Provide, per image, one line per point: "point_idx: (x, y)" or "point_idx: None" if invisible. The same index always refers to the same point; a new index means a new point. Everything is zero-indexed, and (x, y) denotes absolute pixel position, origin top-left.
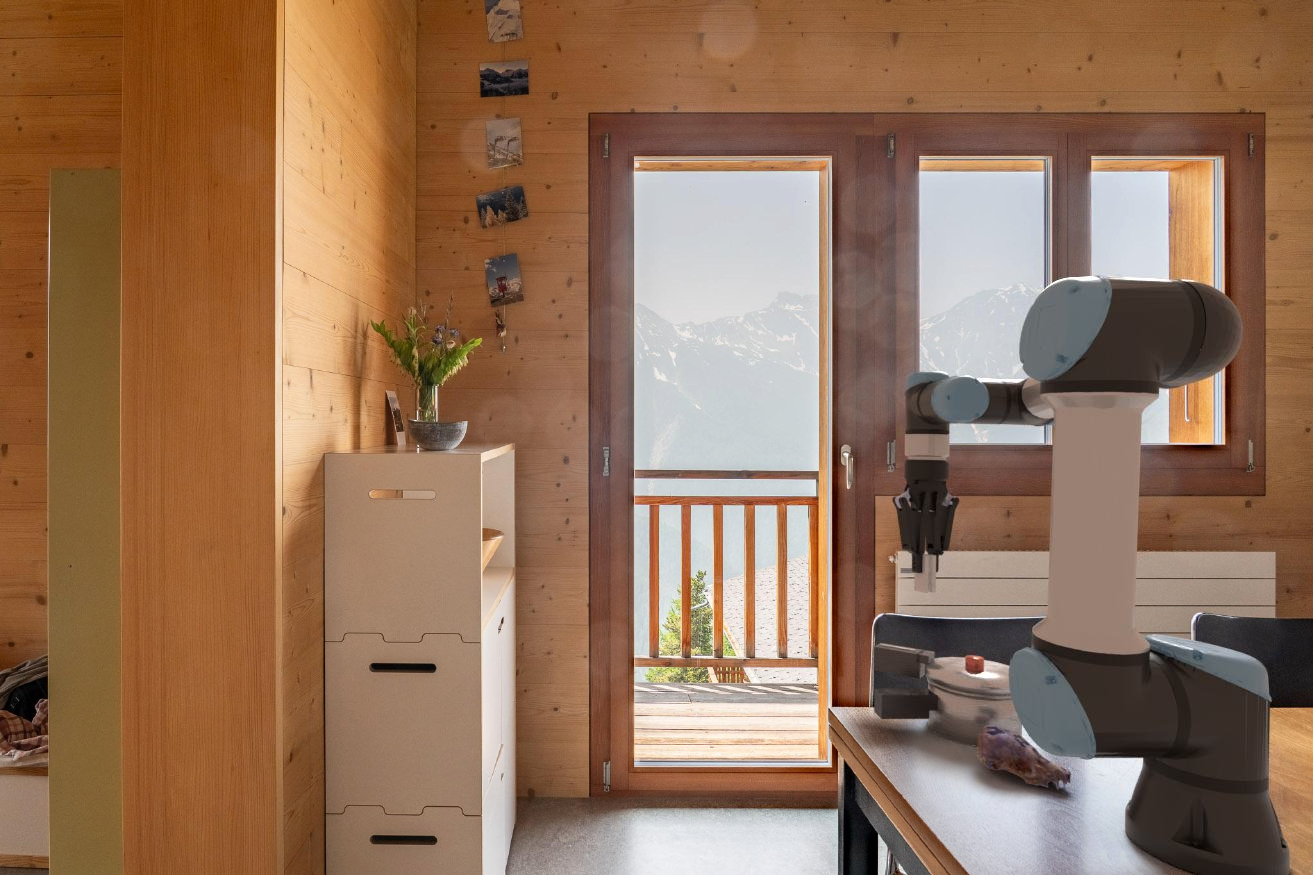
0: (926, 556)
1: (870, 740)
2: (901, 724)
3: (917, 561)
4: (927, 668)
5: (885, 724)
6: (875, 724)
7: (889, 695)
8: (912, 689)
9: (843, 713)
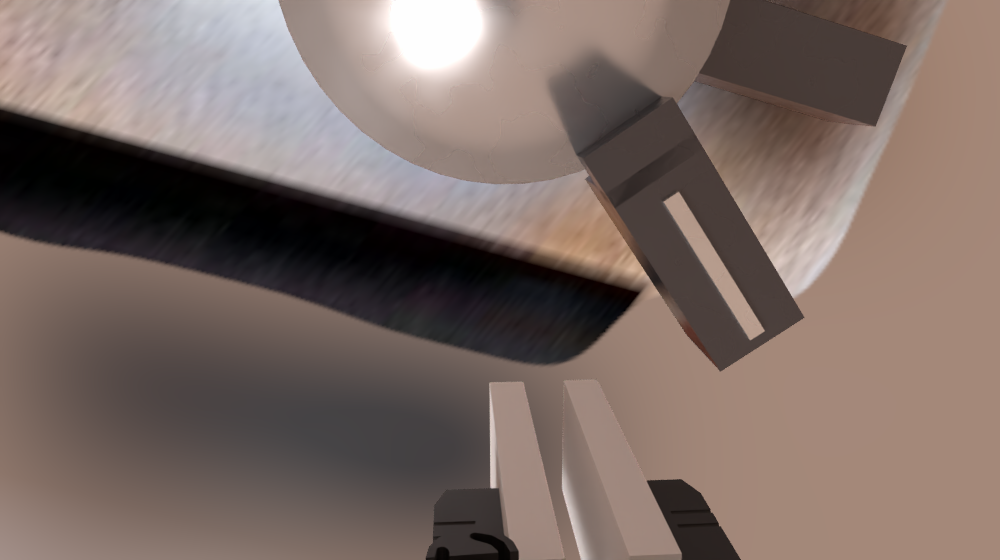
0: (658, 548)
1: (894, 22)
2: (693, 118)
3: (727, 545)
4: (714, 40)
5: (745, 134)
6: (777, 144)
7: (877, 37)
8: (736, 71)
9: (807, 264)
